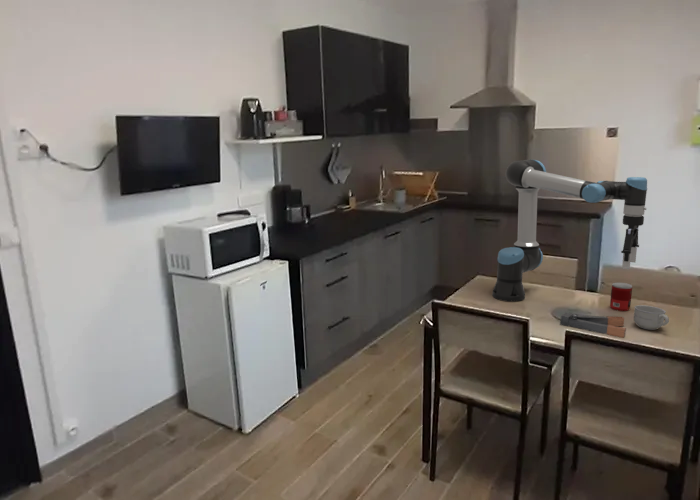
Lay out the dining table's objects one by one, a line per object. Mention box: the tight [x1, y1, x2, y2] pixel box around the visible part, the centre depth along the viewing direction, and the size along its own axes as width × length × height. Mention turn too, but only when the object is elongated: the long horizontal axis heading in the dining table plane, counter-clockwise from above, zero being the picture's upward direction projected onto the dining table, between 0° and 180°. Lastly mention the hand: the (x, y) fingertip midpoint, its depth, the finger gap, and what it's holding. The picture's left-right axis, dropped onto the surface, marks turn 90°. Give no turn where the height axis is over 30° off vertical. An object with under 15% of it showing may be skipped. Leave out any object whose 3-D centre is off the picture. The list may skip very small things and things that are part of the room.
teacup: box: [633, 304, 670, 331], centre depth 201 cm, size 14×11×8 cm
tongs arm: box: [571, 313, 625, 327], centre depth 206 cm, size 20×4×4 cm, turn 80°
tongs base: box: [559, 311, 627, 338], centre depth 202 cm, size 24×6×4 cm, turn 50°
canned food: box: [609, 282, 633, 312], centre depth 225 cm, size 8×8×11 cm
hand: (628, 265), depth 213 cm, fingers open, 13 cm apart
